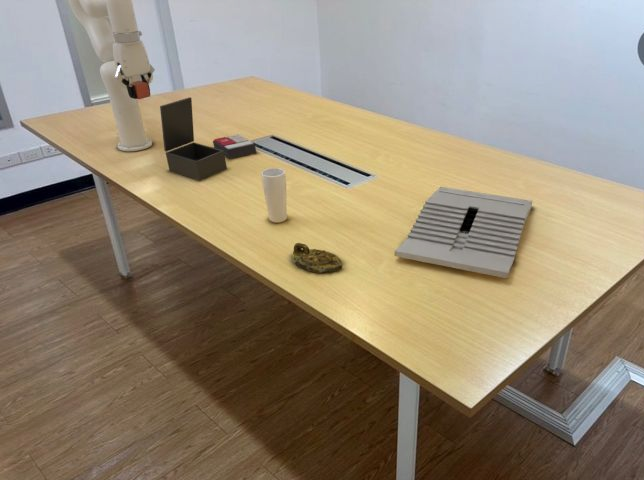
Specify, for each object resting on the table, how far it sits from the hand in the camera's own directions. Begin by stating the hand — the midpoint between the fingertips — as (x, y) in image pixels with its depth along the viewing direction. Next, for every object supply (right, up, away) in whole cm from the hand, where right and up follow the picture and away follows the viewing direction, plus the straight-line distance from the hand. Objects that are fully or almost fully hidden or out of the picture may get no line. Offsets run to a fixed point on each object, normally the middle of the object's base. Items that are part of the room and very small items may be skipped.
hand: (140, 95), depth 184 cm
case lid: (+11, -8, +6) cm, 15 cm away
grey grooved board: (+105, -48, -26) cm, 118 cm away
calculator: (+25, -12, +28) cm, 39 cm away
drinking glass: (+49, -44, -19) cm, 69 cm away
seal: (+63, -57, -40) cm, 94 cm away
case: (+16, -22, +12) cm, 30 cm away
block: (0, 0, 0) cm, 0 cm away
